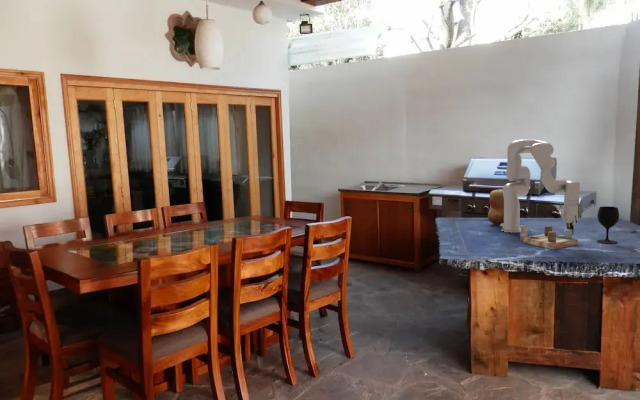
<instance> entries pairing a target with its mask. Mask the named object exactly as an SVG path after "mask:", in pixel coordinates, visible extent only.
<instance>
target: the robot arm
mask: <svg viewBox="0 0 640 400" xmlns="http://www.w3.org/2000/svg"><path fill="white" fill-rule="evenodd" d="M554 149H555V148H554V146H553V145H552V143H550V142H547V141H543V140H542V141H541V140H538V139H518V140H517V139H516V140H514V141H512V142H511V143H509V144H508V147H507V149H506V150H507V152H506V153H507V155H506V156H507V157H506V158H507V161H506V173H505V175H506V179H507V180H508V181H511V182H508V183H506V184H504V185H503V187H502V190H503V197H504V223H501V224H500V225H499V226H500V227H502V228H501V230H500V231H502V232H503V231H504V233H509V232H510V233H511V234H513V233H514V234H517V233H520V226H521V225H520V223H521V222H520V219H521V218H520V216H521V214H520V213H521V212H520V211H521V210H520V209H521V203H520V200H519V197H525V196H527V195H528V193H529V191H530V184H531V183H530V182H531V171H530V168H529V167H528V166H527V165H522V160H523V159H522V156H521V154H531V156H532V157H533V159H534V160H535V162H536V164H537V165H538V167H539V170H540V172H539V173H540V181H541V183H542V185H543V186H544V188H545V190H546V191H548V193H550V194H560V193H564V195H563V197H564V199H563V209H562V216H561V217H562V218H561V220H562V221H563V222H564V223H566V225H565V227H566V229H572V236H573V235H574V230H575V229H574V228H575V227H576V225H577V224H578V222H579V206H580V195H581V193H580V191H581V189H580V188H581V182H580V181H577V180H568V179H554V177H553V175H552V172H551V169H552V168H553V167H554V166H555V164H556V162H555V161H554V159H553V157H552V155H553V153H554ZM514 181H515V182H514Z"/></svg>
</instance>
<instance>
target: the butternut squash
mask: <svg viewBox="0 0 640 400" xmlns="http://www.w3.org/2000/svg"><path fill="white" fill-rule="evenodd" d="M489 205H490V206H489V207H490V208H489V210H488V214H487V219H488V221H489V222H491V223H492V224H493V225H495V224H497V225H496V226H500V225H499V224H501V223H504V197H503V188H502V189H500V188H499V189H494V190H492V191H490V193H489Z"/></svg>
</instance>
